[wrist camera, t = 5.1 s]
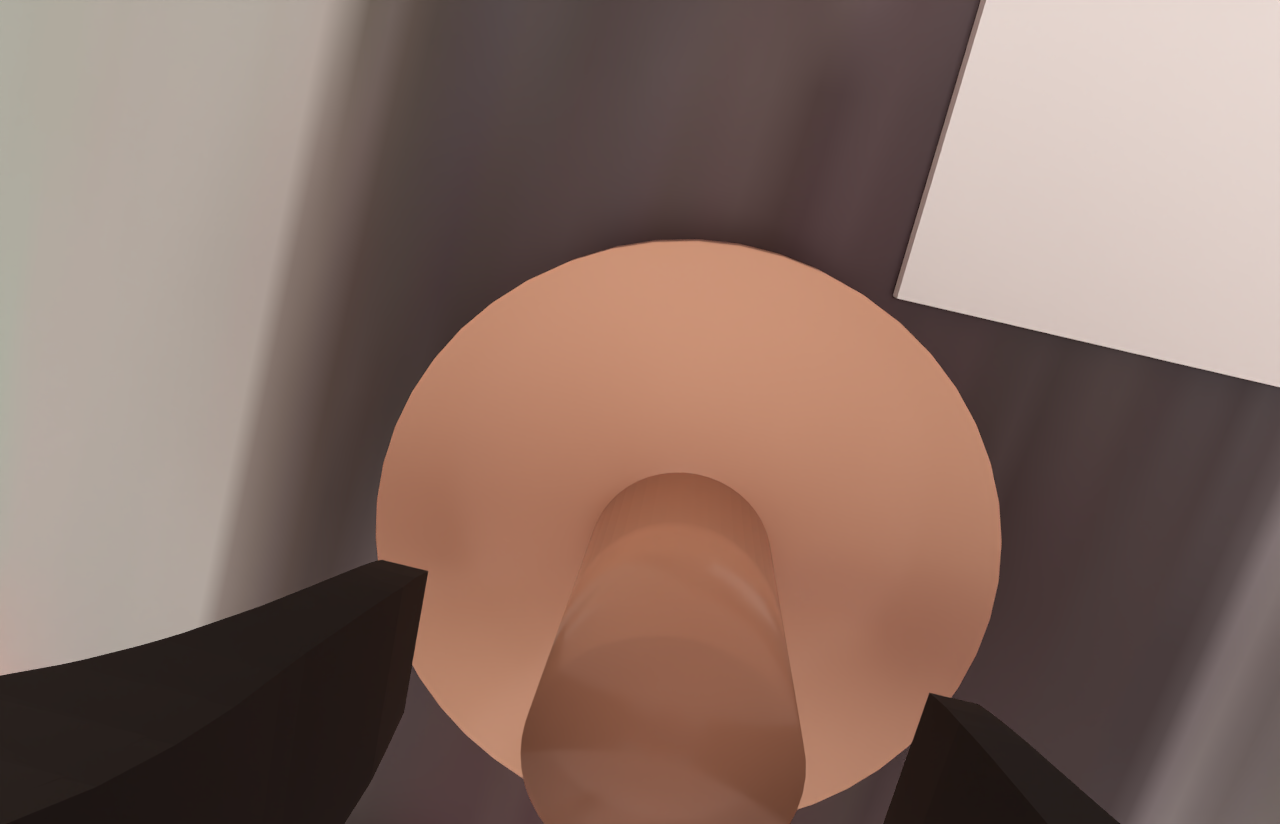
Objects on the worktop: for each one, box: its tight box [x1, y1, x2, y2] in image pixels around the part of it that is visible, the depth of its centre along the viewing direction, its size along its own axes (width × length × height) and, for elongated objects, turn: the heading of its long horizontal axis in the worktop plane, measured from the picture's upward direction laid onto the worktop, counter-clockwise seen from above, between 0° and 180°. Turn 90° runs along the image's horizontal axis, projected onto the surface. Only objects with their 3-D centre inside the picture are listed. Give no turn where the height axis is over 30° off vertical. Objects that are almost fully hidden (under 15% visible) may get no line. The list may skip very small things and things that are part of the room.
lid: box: [376, 239, 1002, 824], centre depth 11 cm, size 10×10×6 cm
